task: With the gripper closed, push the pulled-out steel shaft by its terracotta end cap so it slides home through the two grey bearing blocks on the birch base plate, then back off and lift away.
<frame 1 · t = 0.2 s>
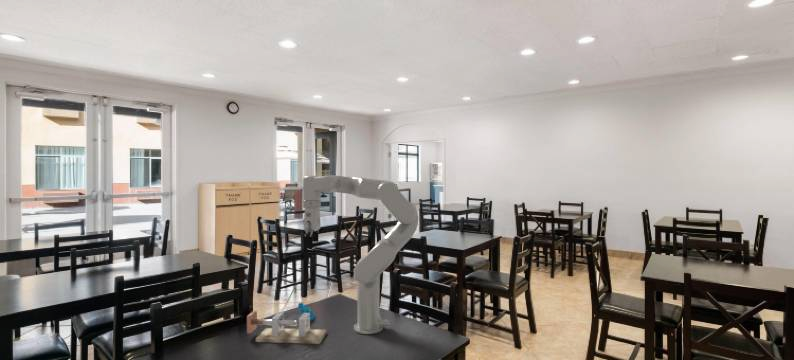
hand: (311, 243, 169), 37 cm above the table, tool pointing down, fingers open, 9 cm apart
base plate: (291, 337, 160), on the table
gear: (306, 319, 180), on the table
bearing blocks: (291, 324, 160), on the base plate, point 5 cm above the table
shaft: (273, 322, 160), point 6 cm above the table, slide at 8.0 cm
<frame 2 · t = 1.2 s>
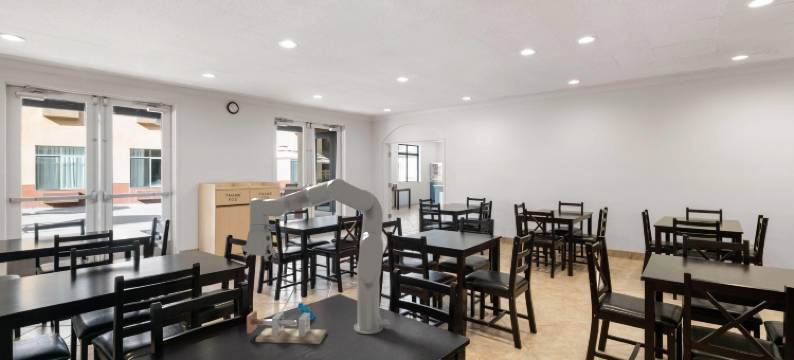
hand: (258, 268, 163), 27 cm above the table, tool pointing down, fingers open, 9 cm apart
nothing on the table moved.
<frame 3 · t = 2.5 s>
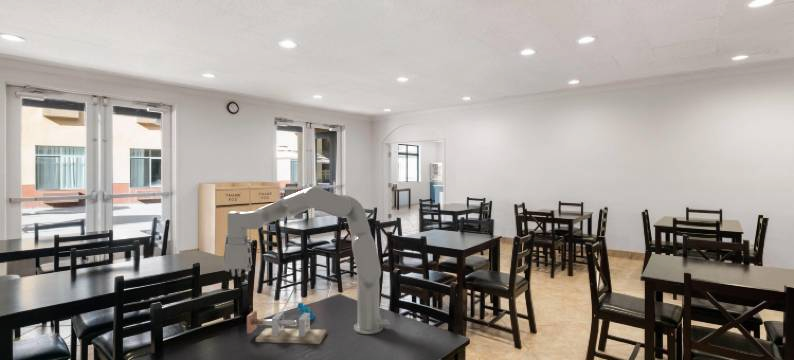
hand: (238, 285, 161), 21 cm above the table, tool pointing down, fingers closed
nothing on the table moved.
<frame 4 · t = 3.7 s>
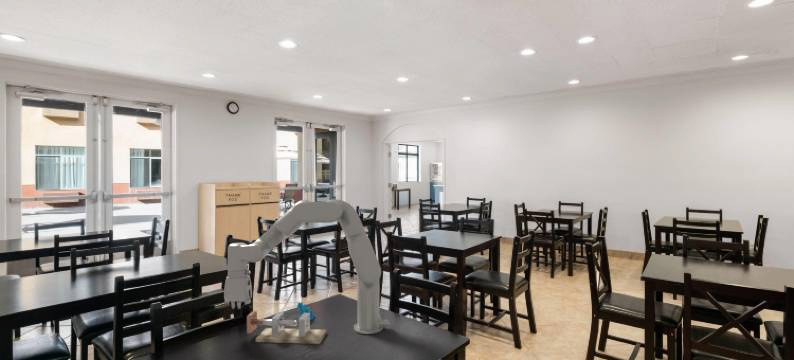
hand: (237, 317, 161), 8 cm above the table, tool pointing down, fingers closed
nothing on the table moved.
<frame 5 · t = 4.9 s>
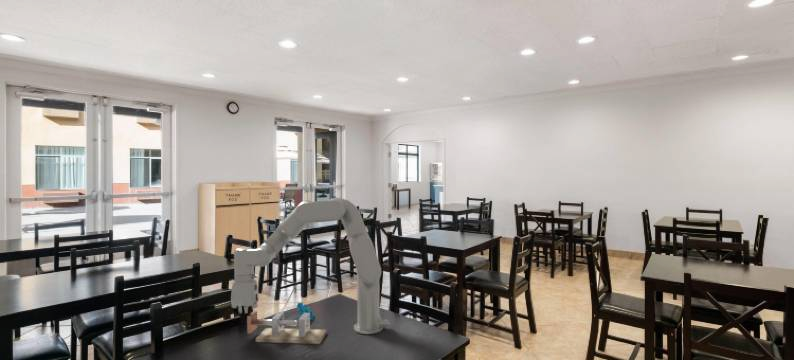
hand: (244, 321, 161), 6 cm above the table, tool pointing down, fingers closed
shaft: (273, 322, 160), point 6 cm above the table, slide at 7.9 cm, touching gripper
everything else where it was.
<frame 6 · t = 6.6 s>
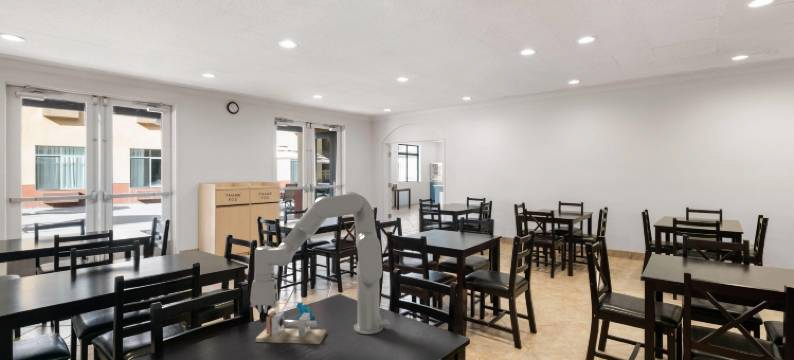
hand: (263, 321, 160), 6 cm above the table, tool pointing down, fingers closed
shaft: (292, 322, 160), point 6 cm above the table, slide at -0.1 cm, touching gripper
everything else where it was.
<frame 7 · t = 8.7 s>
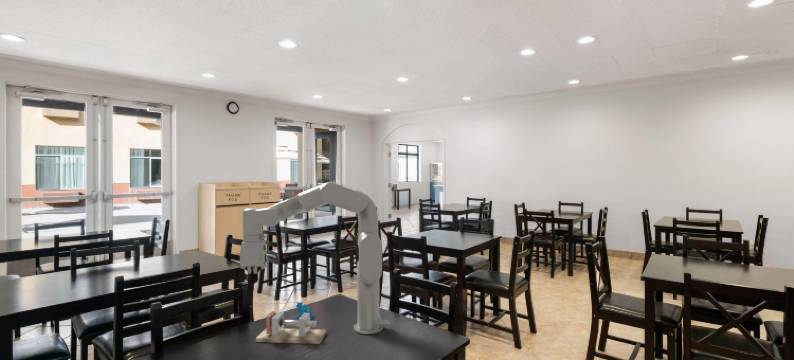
hand: (254, 282, 160), 22 cm above the table, tool pointing down, fingers closed
shaft: (292, 322, 160), point 6 cm above the table, slide at 0.0 cm
everything else where it was.
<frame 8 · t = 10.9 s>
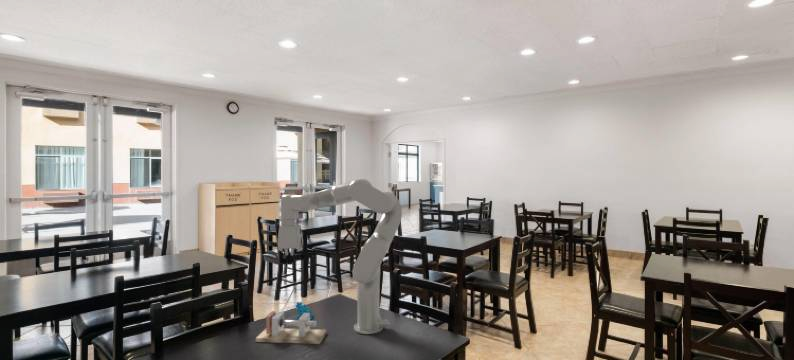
hand: (290, 263, 172), 27 cm above the table, tool pointing down, fingers closed
at the end: shaft slide at 0.0 cm; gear moved 1.1 cm from its start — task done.
